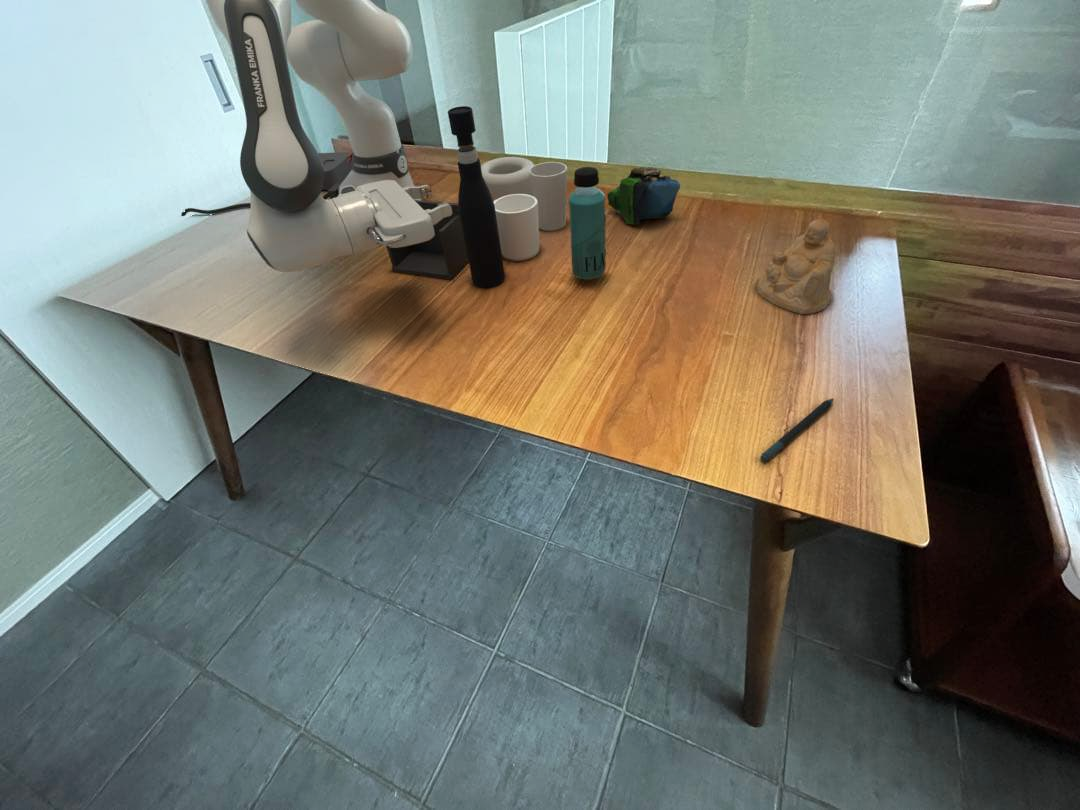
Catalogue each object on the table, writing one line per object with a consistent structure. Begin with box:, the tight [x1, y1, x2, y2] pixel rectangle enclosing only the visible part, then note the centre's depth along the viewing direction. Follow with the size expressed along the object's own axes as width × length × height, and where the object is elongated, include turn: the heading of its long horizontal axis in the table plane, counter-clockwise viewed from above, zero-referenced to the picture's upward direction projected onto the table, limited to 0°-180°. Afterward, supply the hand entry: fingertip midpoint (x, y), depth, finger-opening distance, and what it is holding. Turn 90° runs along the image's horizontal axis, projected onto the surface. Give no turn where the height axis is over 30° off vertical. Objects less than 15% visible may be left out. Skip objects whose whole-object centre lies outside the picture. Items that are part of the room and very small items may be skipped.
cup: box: [529, 161, 568, 232], centre depth 113 cm, size 8×8×12 cm
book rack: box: [385, 199, 469, 281], centre depth 104 cm, size 14×8×12 cm, turn 68°
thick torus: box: [481, 156, 535, 202], centre depth 130 cm, size 15×15×7 cm
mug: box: [494, 194, 540, 262], centre depth 107 cm, size 11×9×10 cm
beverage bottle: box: [568, 166, 607, 280], centre depth 93 cm, size 6×7×20 cm
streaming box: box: [317, 152, 352, 191], centre depth 148 cm, size 14×14×5 cm
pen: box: [760, 398, 834, 462], centre depth 68 cm, size 1×16×1 cm, turn 128°
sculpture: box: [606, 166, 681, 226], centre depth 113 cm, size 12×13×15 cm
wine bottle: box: [447, 105, 506, 289], centre depth 92 cm, size 6×6×30 cm
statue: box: [756, 218, 836, 315], centre depth 87 cm, size 12×14×10 cm
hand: (440, 198), depth 89 cm, fingers open, 8 cm apart
